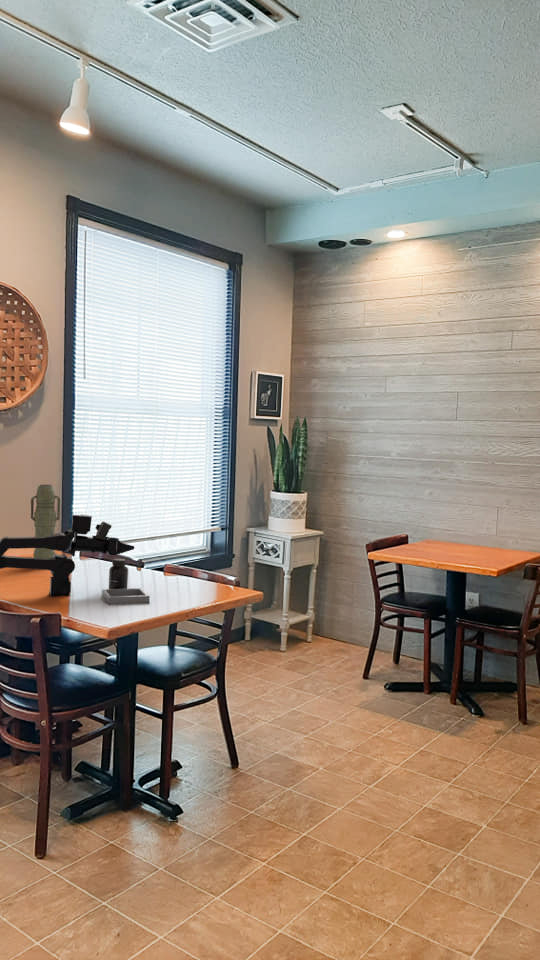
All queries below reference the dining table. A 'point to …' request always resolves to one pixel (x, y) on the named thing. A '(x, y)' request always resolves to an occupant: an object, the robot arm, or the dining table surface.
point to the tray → (125, 596)
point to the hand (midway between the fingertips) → (131, 547)
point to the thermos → (45, 517)
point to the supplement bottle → (118, 574)
